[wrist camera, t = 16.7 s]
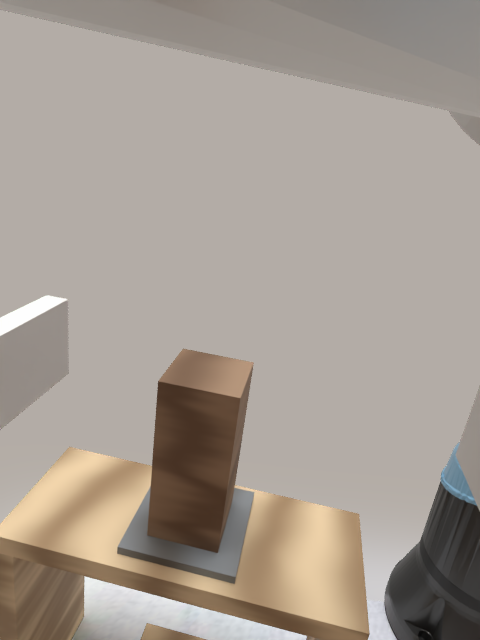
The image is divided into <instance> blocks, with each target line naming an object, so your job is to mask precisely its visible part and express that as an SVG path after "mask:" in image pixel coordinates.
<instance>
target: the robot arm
mask: <svg viewBox="0 0 480 640" xmlns="http://www.w3.org/2000/svg"><path fill="white" fill-rule="evenodd" d="M0 10H4V11H8V12H13V13H17V14H21V15H26V16H30V17H35V18H39V19H44V20H48V21H53V22H57V23H61V24H66V25H71V26H75V27H79V28H84V29H88V30H92V31H97V32H101V33H106V34H111V35H115V36H119V37H124V38H128V39H133V40H137V41H141V42H146V43H150V44H155V45H159V46H164V47H168V48H173V49H177V50H182V51H186V52H191V53H195V54H199V55H204V56H208V57H213V58H217V59H221V60H226V61H230V62H235V63H239V64H244V65H248V66H252V67H257V68H261V69H266V70H271V71H275V72H279V73H284V74H288V75H293V76H297V77H301V78H306V79H311V80H315V81H319V82H324V83H328V84H333V85H337V86H341V87H346V88H350V89H355V90H359V91H364V92H368V93H373V94H377V95H381V96H386V97H390V98H395V99H399V100H404V101H408V102H413V103H417V104H421V105H426V106H430V107H435V108H439V109H444V110H448V111H449V112H450V114H451V116H452V117H453V118H454V120H455V121H456V122H457V123H458V125H459V126H460V127H461V128H462V130H463V131H464V132H465V133H466V134H468V135H469V136H470V137H471V138H472V139H473V140H474V141H475V142H476V143H477V144H479V145H480V0H0ZM67 374H68V299H63V298H58V297H52V296H48V295H46V296H45V297H42V298H40V299H38V300H36V301H34V302H32V303H30V304H28V305H26V306H24V307H22V308H20V309H18V310H15V311H13V312H12V313H9V314H7V315H5V316H3V317H1V318H0V430H1V429H2V428H3V427H4V426H6V425H7V424H8V423H9V422H10V421H12V420H13V419H14V418H15V417H16V416H18V415H19V414H20V413H21V412H23V411H24V410H25V409H26V408H27V407H28V406H30V405H31V404H32V403H33V402H35V401H36V400H37V399H38V398H39V397H40V396H42V395H43V394H44V393H46V392H47V391H48V390H49V389H50V388H52V387H53V386H54V385H55V384H56V383H58V382H59V381H60V380H61V379H62V378H64V377H65V376H66V375H67ZM385 609H386V613H387V617H388V620H389V622H390V625H391V627H392V629H393V631H394V633H395V635H396V637H397V638H398V640H480V387H479V390H478V393H477V395H476V398H475V401H474V404H473V407H472V409H471V413H470V415H469V418H468V421H467V424H466V426H465V429H464V432H463V435H462V438H461V440H460V442H459V443H458V444H457V445H456V447H455V448H454V450H453V453H452V454H451V457H450V459H449V461H448V464H447V466H446V467H445V468H444V469H443V471H442V473H441V482H440V485H439V488H438V491H437V494H436V496H435V499H434V502H433V505H432V508H431V511H430V514H429V517H428V520H427V523H426V526H425V529H424V532H423V535H422V537H421V540H420V542H419V543H418V544H417V545H416V546H415V547H414V548H413V549H412V550H411V551H410V552H409V553H408V554H407V555H406V556H405V557H404V558H403V559H402V560H401V561H399V562H398V564H397V565H396V566H395V568H394V569H393V571H392V573H391V575H390V578H389V581H388V584H387V587H386V591H385Z"/></svg>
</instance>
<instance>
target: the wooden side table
mask: <svg viewBox="0 0 480 640" xmlns="http://www.w3.org/2000/svg"><path fill="white" fill-rule="evenodd" d="M151 475H152V466H150V465H145V464H141V463H137V462H132V461H128V460H124V459H119V458H115V457H111V456H107V455H102V454H98V453H93V452H89V451H85V450H81V449H76V448H72V447H69V448H68V449H67V450H66V451H65V452H64V454H63V455H62V456H61V457H60V458H59V459H58V460H57V461H56V463H55V464H54V465H53V466H52V467H51V468H50V469H49V470H48V471H47V472H46V474H45V475H44V476H43V477H42V478H41V479H40V480H39V481H38V483H37V484H36V485H35V486H34V487H33V488H32V489H31V490H30V491H29V493H28V494H27V495H26V496H25V497H24V498H23V499H22V500H21V501H20V503H19V504H18V505H17V506H16V507H15V508H14V509H13V510H12V511H11V513H10V514H9V515H8V516H7V517H6V518H5V519H4V520H3V521H2V523H1V524H0V640H72V638H73V636H74V634H75V632H76V630H77V628H78V626H79V625H80V623H81V621H82V619H83V617H84V576H86V577H90V578H94V579H97V580H101V581H105V582H109V583H112V584H116V585H120V586H123V587H127V588H131V589H135V590H138V591H142V592H146V593H150V594H153V595H157V596H161V597H165V598H168V599H172V600H176V601H179V602H183V603H187V604H191V605H194V606H198V607H202V608H206V609H209V610H213V611H217V612H220V613H224V614H228V615H232V616H235V617H239V618H243V619H247V620H250V621H254V622H258V623H261V624H265V625H269V626H273V627H276V628H280V629H284V630H288V631H291V632H295V633H299V634H303V635H306V636H307V639H306V640H368V637H369V624H368V612H367V600H366V589H365V577H364V566H363V554H362V543H361V532H360V520H359V514H357V513H353V512H348V511H344V510H339V509H335V508H331V507H326V506H322V505H318V504H314V503H309V502H305V501H301V500H296V499H292V498H288V497H283V496H279V495H275V494H270V493H266V492H262V491H258V490H253V489H249V488H245V487H240V486H236V485H235V487H234V494H233V500H232V504H231V508H230V511H229V515H228V519H227V522H226V526H225V529H224V533H223V536H222V540H221V544H220V547H219V551H218V553H215V552H211V551H207V550H203V549H199V548H195V547H191V546H187V545H183V544H179V543H176V542H172V541H168V540H164V539H160V538H156V537H152V536H148V535H147V530H148V516H149V502H150V488H151ZM141 640H206V639H202V638H199V637H195V636H192V635H188V634H184V633H181V632H177V631H174V630H170V629H166V628H163V627H159V626H155V625H152V624H148V623H147V624H146V627H145V629H144V632H143V634H142V637H141Z"/></svg>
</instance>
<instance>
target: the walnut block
mask: <svg viewBox="0 0 480 640" xmlns="http://www.w3.org/2000/svg"><path fill="white" fill-rule="evenodd" d="M252 370H253V362H248V361H243V360H238V359H233V358H228V357H223V356H218V355H212V354H207V353H202V352H197V351H192V350H187V349H183V350H182V351H181V352H180V353H179V355H178V356H177V357H176V359H175V360H174V361H173V363H172V364H171V365H170V367H169V368H168V369H167V370H166V372H165V373H164V374H163V376H162V377H161V378H160V380H159V381H158V393H157V407H156V420H155V433H154V448H153V462H152V475H151V488H150V502H149V516H148V530H147V535H148V536H152V537H156V538H160V539H164V540H168V541H172V542H176V543H179V544H183V545H187V546H191V547H195V548H199V549H203V550H207V551H211V552H215V553H218V551H219V547H220V544H221V540H222V536H223V533H224V529H225V526H226V522H227V519H228V515H229V511H230V508H231V504H232V500H233V494H234V487H235V481H236V474H237V467H238V461H239V455H240V448H241V441H242V434H243V428H244V422H245V415H246V408H247V401H248V396H249V389H250V383H251V376H252Z"/></svg>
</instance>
